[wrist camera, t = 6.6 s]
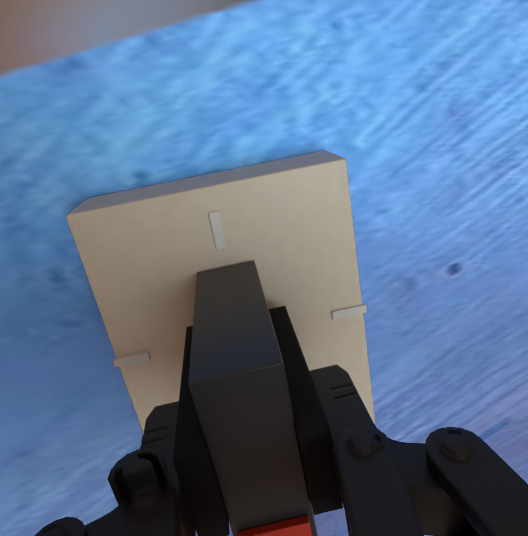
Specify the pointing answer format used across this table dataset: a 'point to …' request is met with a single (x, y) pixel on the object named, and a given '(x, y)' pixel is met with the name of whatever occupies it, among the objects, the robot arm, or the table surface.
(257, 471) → the dark grey block
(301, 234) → the beige flat block
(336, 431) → the robot arm
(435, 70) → the table surface
